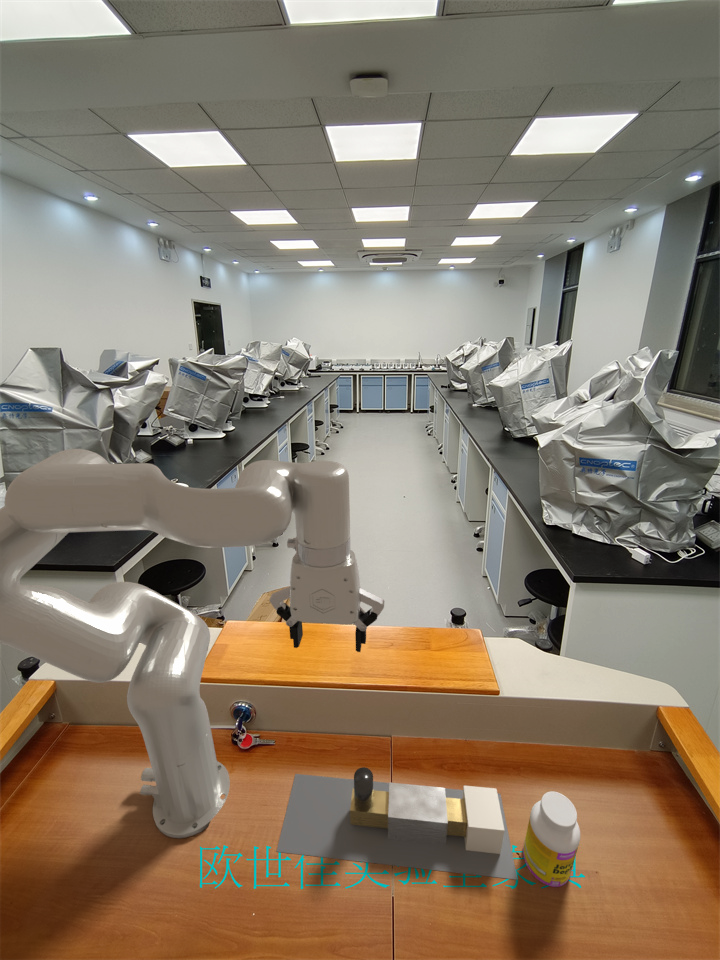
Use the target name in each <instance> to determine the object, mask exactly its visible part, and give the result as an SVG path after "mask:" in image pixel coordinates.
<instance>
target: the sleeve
mask: <svg viewBox="0 0 720 960" xmlns="http://www.w3.org/2000/svg"><path fill="white" fill-rule="evenodd" d="M388 783H389V808H388V839H396V840H405V841H414V842H423V843H432V844H441V845H446V837H447V827H448V819H447V807H446V795H445V788H446V787H440V786H439V787H438V786H431V785H430V786H428V785H418V784H408V783H398V782H388Z"/></svg>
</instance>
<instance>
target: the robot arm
mask: <svg viewBox="0 0 720 960" xmlns="http://www.w3.org/2000/svg"><path fill="white" fill-rule="evenodd" d="M350 511H351V510H350V477H349V472H348V469H347V468H346V467H345V466H344V465H342V464H341V463H339V462H336V461H332V460H313V461H308V462H305V463H303V462H293V461H291V462H290V461H284V460H283V461H282V460H274V459H273V460H272V459H262V460H256V461H253V462H251V463H250V464H248V465H246V466H245V467H244V468H243V469H242V471H241V472H240V474H239V476H238V479H237V482H236V484H235V487H233V488H232V487H231V488H230V487H229V488H225V487H224V488H202V487H201V488H199V487H190V486H185V485H181V484H179V483H176V482H173V481H172V480H170V479H169V478H168V477H166V476H165V475H164V473H163V472H162V470H161V469H160V468H159V467H158V466H157V465H155V464H154V463H147V462H146V463H145V462H141V463H137V462H136V463H109V461H107V459H105V458H104V457H103V456H102V455H100V454H99V453H97V452H94V451H91V450H88V449H83V448H70V449H65V450H61V451H58V452H57V453H53V454H52V455H50V456H48V457H46V458H45V459H43V460H41V461H39V462H37V463H36V464H34V465H32V466H30V467H29V468H26V469H25V470H24V471H22V472H21V473H19V474H18V475H17V476H16V477H15V478H14V479H13V480H12V481H11V482H10V484H9V486H8V488H7V489H6V492H5V496H4V506H3V507H1V508H0V644H1V645H2V644H3V645H5V646H9V647H11V648H13V649H15V650H18V651H21V652H23V653H24V654H26V655H29V656H31V657H32V658H35V659H38V660H40V661H41V662H44V663H46V664H49V665H51V666H53V667H55V668H57V669H58V670H59V669H60V670H61V671H64V672H66V673H67V674H71V675H73V676H76V677H78V678H80V679H83V680H85V681H89V682H91V683H107V682H111V681H112V680H114V679H116V678H117V677H119V676H120V675H121V673H122V672H124V670H126V668H127V666H128V665H129V663H130V661H131V660H132V658H133V656H134V654H135V653H136V650H137V648H138V647H139V644H142V645H143V646H145V648H144V650H143V652H142V653H141V655H140V658H139V660H138V662H137V664H136V667H135V669H134V671H133V673H132V677H131V679H130V681H129V685H128V688H127V696H126V703H127V707H128V710H129V712H130V714H131V716H132V717H133V719H134V720H135V722H136V724H137V725H138V727H139V730H140V732H141V734H142V738H143V741H144V744H145V748H146V751H147V752H146V753H147V755H148V760H149V763H150V767H145V768H144V769H143V770H142V773H141V776H140V780H141V781H142V782H150V783H153V782H155V785H150V784H142V786H141V788H140V791H139V792H140V793H139V794H140V795H143V796H152V798H153V799H154V800H153V805H152V817H153V820H154V822H155V823H154V824H155V826H156V828H157V829H158V831H159V832H161V833H162V834H163V835H165V836H167V837H169V838H174V839H175V838H176V839H184V838H188V837H191V836H195V835H196V834H199V833H201V832H203V831H204V830H205V829H207V828H208V827H209V826H210V823H211V821H212V820H213V819H214V818H215V816H217V815H218V813H219V812H220V810H221V809H222V808H223V807H224V805H225V803H226V801H227V798H228V797H229V796H228V795H229V793H230V787H231V786H230V785H231V784H230V783H231V781H230V775H229V771H228V769H227V767H226V766H225V765H223V764H222V762H219V761H218V760H217V754H216V750H215V744H214V738H213V734H212V728H211V723H210V718H209V713H208V709H207V706H206V703H205V701H204V699H202V697H201V692H200V691H201V690H200V687H201V681H202V675H203V672H204V668H205V662H206V658H207V654H208V650H209V647H210V641H211V631H210V629H209V626H208V625H207V622H205V621H204V619H203V618H201V617H200V616H199V615H197V614H196V613H194V612H193V611H191V610H189V609H187V608H186V607H184V606H182V605H180V604H178V603H177V602H175V601H173V600H171V599H170V598H168V597H166V596H164V595H162V594H160V593H159V592H157V591H156V590H153V589H151V588H149V587H148V586H145V585H143V584H140V583H137V582H131V581H116V582H112V583H110V584H107V585H105V586H103V587H101V588H100V589H99V590H98V591H96V592H95V593H94V594H93V596H92V597H91V598H90V599H89V601H86V600H83V599H81V598H78V597H76V596H75V595H73V594H71V593H69V592H67V591H65V590H63V589H60V588H56V587H53V586H47V585H40V584H36V585H35V584H21V583H20V581H21V579H22V577H23V576H24V575H25V574H27V572H28V571H30V570H31V569H32V568H33V567H34V566H35V565H36V564H38V562H40V560H42V558H44V557H45V556H46V555H47V554H48V553H49V552H51V550H52V549H54V548H55V547H56V546H57V545H58V544H59V543H60V542H61V541H62V540H63V539H64V538H66V537H65V536H67V535H68V534H69V533H87V532H88V533H90V532H115V531H116V532H117V531H118V532H119V531H151V532H154V533H156V534H158V535H160V536H162V537H164V538H166V539H169V540H172V541H175V542H179V543H181V544H184V545H188V546H191V547H197V548H206V549H208V548H211V549H212V548H213V549H214V548H215V549H217V548H238V547H239V548H240V547H251V546H253V547H254V546H259V545H260V546H261V545H263V544H267V543H270V542H272V541H274V540H276V539H278V538H279V537H280V536H282V535H283V534H284V533H285V532H286V530H288V529H287V528H288V527H289V525H290V523H291V519H292V514H294V519H295V531H296V532H295V533H296V534H295V535H296V536H295V537H293V538H288V539H287V542H286V545H287V548H288V549H293V550H295V554H294V555H293V556H292V560H291V565H290V566H291V567H290V578H289V586H288V587H285V588H282V589H280V590H278V591H275V592H272V593H271V595H270V598H269V602H270V604H271V605H272V607H273V608H274V610H275V611H276V614H277V615H278V616H279V617H280V618H281V619H283V620H284V621H285V625H286V626H287V627H289V638H290V640H292V641H293V649H298V648H299V647H300V645H301V642H302V638H303V636H304V633H303V632H304V631H303V623H314V624H315V623H316V624H330V625H331V624H332V625H353V624H354V625H355V632H354V633H355V637H354V638H355V652H357V653H361V650H362V645H366V642H367V629H368V627H369V626H370V625H372V624H373V623H374V622H376V621H377V620H378V617H379V616H380V614H381V613H382V611H383V610H384V608H385V600H384V599H383V598H381V597H379V596H377V595H375V594H373V593H371V592H369V591H368V590H365V589H363V588H361V581H360V579H361V578H360V574H359V566H358V562H357V558H356V554H355V552H354V551H353V550H352V549H351V517H350V514H351V513H350ZM286 600H289V605H288V604H287V603H286V602H285V601H286ZM361 602H362V603H363V604H365V605H367V606H370V607H371V608H370V609H369V610H367V611H366V610H364V609H363V608H362V607H361ZM222 795H225V796H224V797H223V798H221V796H222Z"/></svg>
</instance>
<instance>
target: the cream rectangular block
mask: <svg viewBox="0 0 720 960" xmlns="http://www.w3.org/2000/svg"><path fill="white" fill-rule="evenodd" d="M462 787H463V788H462V790H463V795H462V799H464V800H465V808H466V817H467V831H466V837H464V839H465V848H466V850H469V851H478V852H487V853H496V854H501V848H502V842H503V836H504V831H505V830H504V825H503V820H502V815H501V809H500V804H499V799H498V794H497V793H498V790H497V788H496V787H495V788H494V787H483V786H474V785H473V786H472V785H463V786H462Z"/></svg>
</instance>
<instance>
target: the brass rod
mask: <svg viewBox="0 0 720 960" xmlns="http://www.w3.org/2000/svg"><path fill="white" fill-rule="evenodd" d="M353 779H354V788H353V790H352V798H351V807H350V823H351V825H360V826H369V827H379V828H388V808H389V792H386V791H376V790H373V781H374V774H373V772H372V770H371V769H369V768H368V767H364V766H363V767H359V768H357V769H356V770H355V772H354V774H353ZM446 807H447V819H448V827H447V835H453V836H462V837H466V831H467V817H466V808H465V800H464V799H456V798H446Z"/></svg>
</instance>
